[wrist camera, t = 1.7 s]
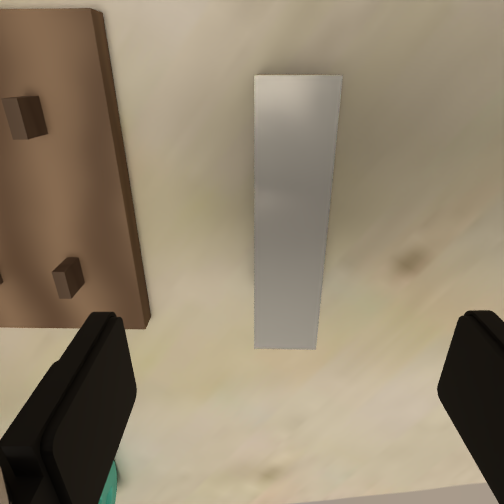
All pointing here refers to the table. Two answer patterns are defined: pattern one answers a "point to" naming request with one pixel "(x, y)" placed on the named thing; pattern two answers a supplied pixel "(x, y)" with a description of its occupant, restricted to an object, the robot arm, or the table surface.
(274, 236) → the gray rectangular block
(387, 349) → the table surface
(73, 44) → the brown board
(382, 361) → the table surface
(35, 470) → the robot arm
